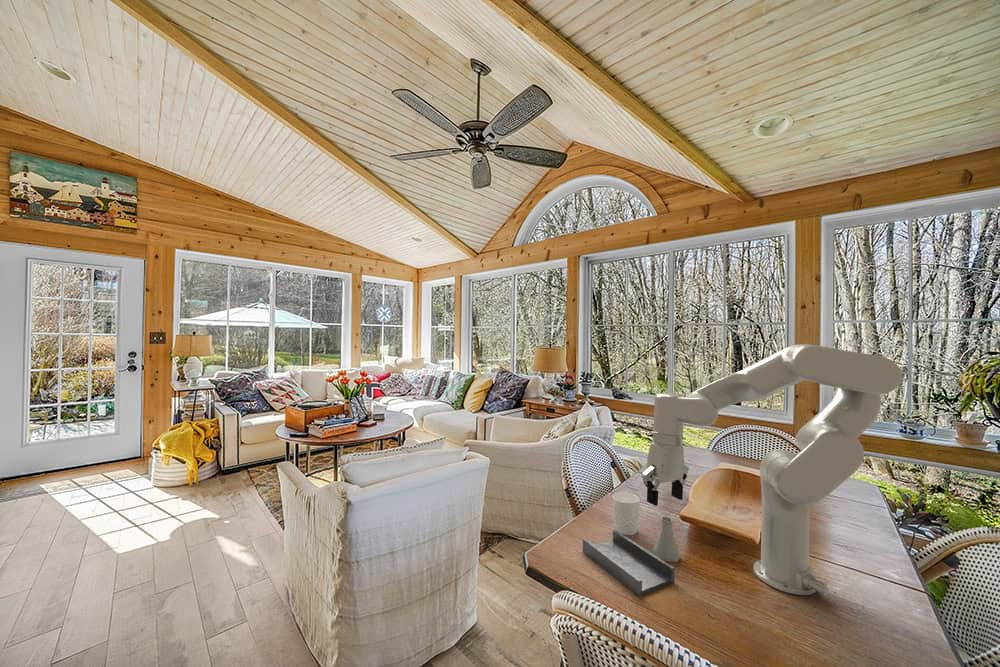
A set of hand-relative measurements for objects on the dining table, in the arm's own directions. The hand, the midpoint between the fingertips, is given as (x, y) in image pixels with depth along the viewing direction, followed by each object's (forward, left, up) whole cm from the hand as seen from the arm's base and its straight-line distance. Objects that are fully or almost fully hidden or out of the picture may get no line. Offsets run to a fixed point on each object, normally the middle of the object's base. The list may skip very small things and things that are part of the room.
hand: (664, 500), depth 105 cm
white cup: (+15, 0, -15) cm, 21 cm away
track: (+1, +14, -15) cm, 20 cm away
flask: (0, 0, -15) cm, 15 cm away
